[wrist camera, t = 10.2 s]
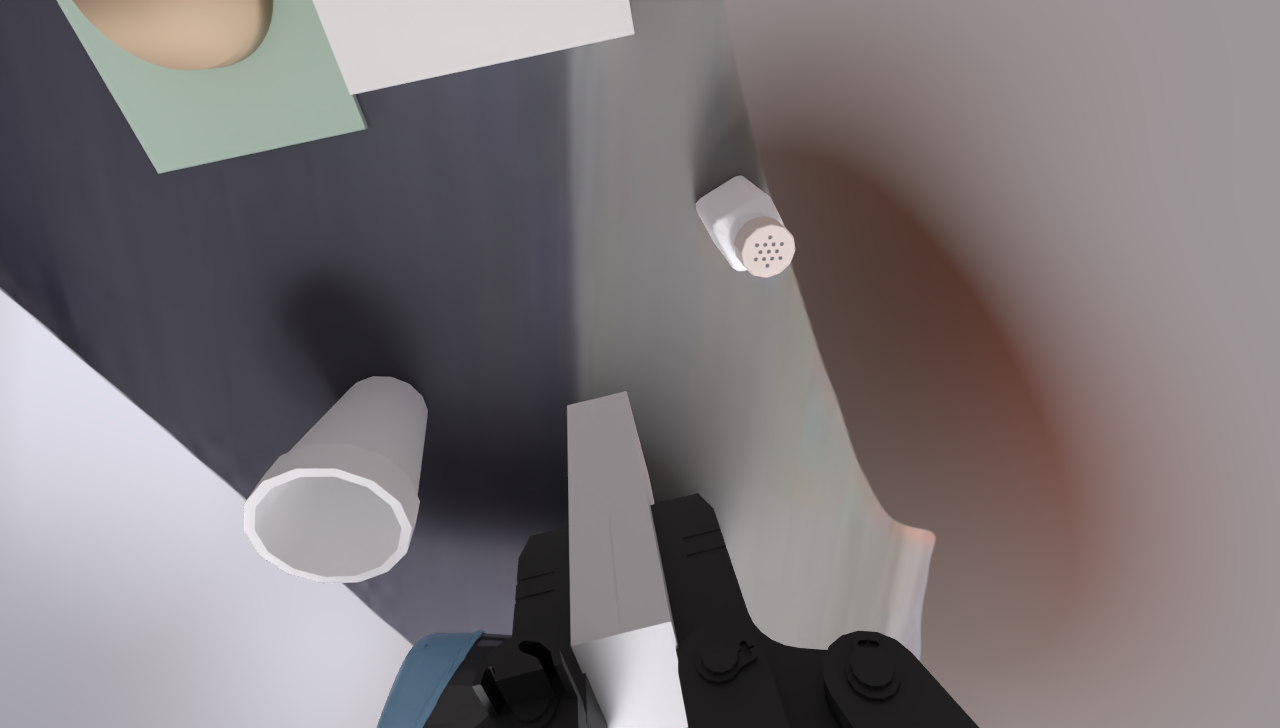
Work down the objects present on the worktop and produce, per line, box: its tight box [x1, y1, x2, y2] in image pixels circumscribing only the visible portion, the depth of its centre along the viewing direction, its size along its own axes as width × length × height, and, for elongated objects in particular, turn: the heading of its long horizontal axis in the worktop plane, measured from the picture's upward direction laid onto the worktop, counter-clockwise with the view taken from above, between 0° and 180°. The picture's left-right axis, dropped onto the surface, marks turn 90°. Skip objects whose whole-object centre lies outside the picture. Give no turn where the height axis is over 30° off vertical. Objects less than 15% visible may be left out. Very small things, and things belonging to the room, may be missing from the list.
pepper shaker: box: [696, 175, 795, 278], centre depth 37 cm, size 4×4×10 cm
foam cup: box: [243, 376, 428, 583], centre depth 40 cm, size 10×9×13 cm
